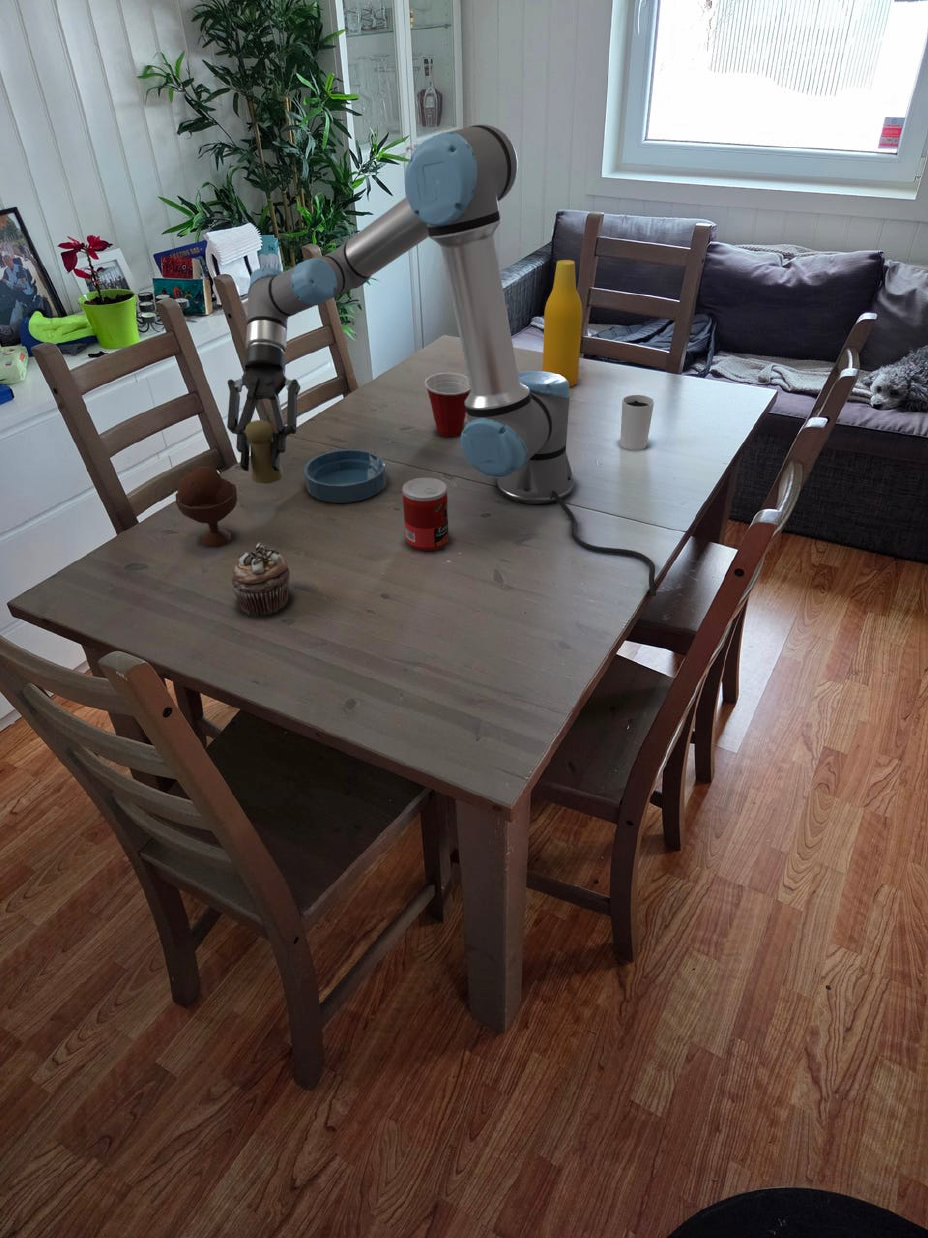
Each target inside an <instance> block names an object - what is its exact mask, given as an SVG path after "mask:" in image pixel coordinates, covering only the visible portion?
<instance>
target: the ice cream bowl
mask: <svg viewBox="0 0 928 1238" xmlns="http://www.w3.org/2000/svg"><path fill="white" fill-rule="evenodd" d="M237 501H238V492H237V487H236V484H234V483H231V481H229V480H228V479H225V478H222V476H221V474H220V473H219V471H218V470H217V469H216V468H214V467H210V466H205V465H204V466H198V467H196V468H195V469H194V470H193V471H190V472H187V473H186V474H184V475H183V476H182V477H181V478H180V480H179V481H178V484H177V492H176V493H175V504H176V506H177V509H178V510H179V511H180V512H181V513H182V515H184V516H185V517H187V518H189V519H191V520H193V521H195V522H198V523H201V524H207V525H208V529H209V530H208V531H206V532H205V533H204V534H203V535H202V536H201V544H202V545H204V546H206V547H221V546H223V545H226V544H227V543H228V542H230V541H231V540H232V534H231V532H230V531H229V530H227V529H224V528H220V526H219V522H221V521H222V520H224V519H225V518H226V517H227V516H229V514H231V513H232V511H233V510H234V509H235V508H236V505H237Z"/></svg>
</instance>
